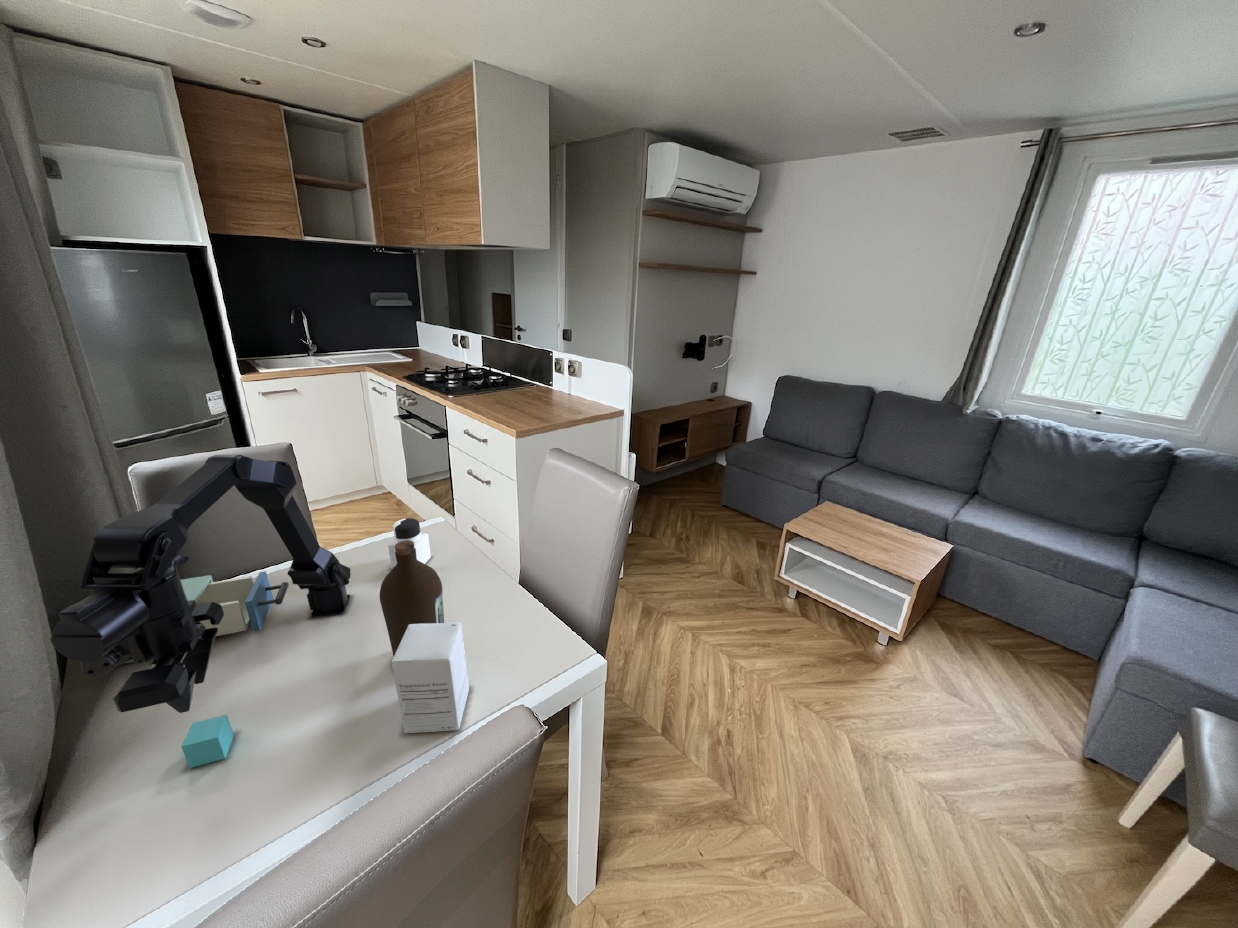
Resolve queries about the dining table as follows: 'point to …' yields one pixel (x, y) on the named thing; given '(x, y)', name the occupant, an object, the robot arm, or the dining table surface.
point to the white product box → (431, 677)
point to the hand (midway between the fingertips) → (192, 696)
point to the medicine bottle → (410, 531)
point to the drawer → (242, 602)
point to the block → (208, 741)
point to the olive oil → (410, 594)
